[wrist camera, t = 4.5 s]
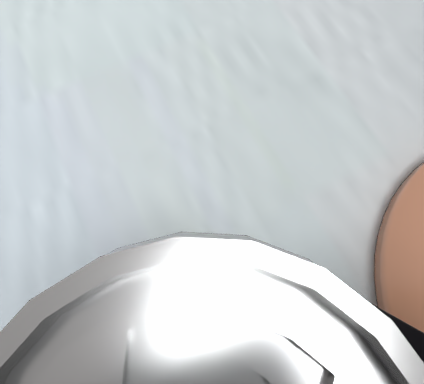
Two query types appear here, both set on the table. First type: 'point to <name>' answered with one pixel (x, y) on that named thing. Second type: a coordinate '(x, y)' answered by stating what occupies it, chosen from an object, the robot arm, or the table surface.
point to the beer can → (204, 321)
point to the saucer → (402, 253)
